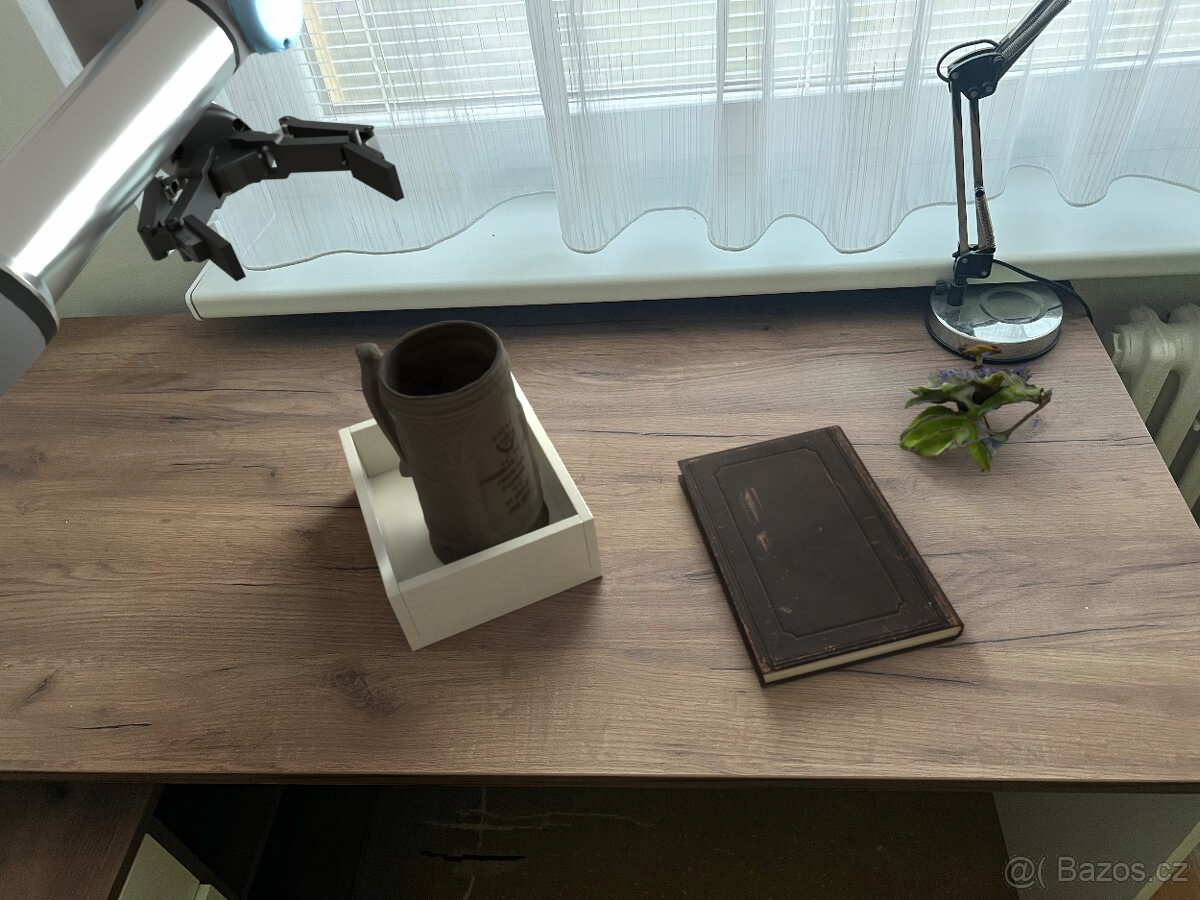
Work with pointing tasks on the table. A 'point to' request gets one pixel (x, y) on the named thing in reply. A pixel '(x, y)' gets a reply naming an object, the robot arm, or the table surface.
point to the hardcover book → (812, 557)
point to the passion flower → (968, 407)
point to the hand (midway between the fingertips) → (318, 221)
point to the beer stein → (457, 434)
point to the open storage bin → (483, 580)
